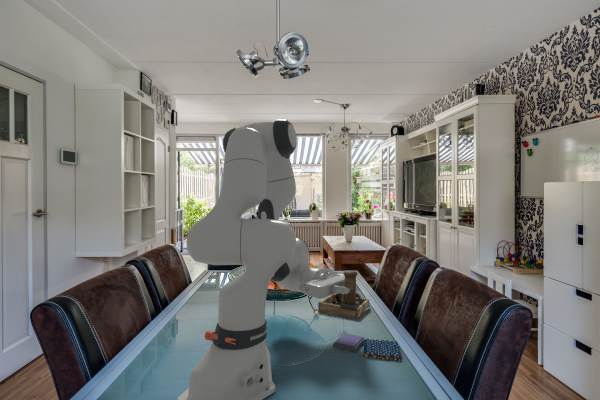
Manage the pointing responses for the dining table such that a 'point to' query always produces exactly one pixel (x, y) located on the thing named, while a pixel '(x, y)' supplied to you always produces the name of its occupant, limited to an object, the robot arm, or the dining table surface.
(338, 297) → the pottery mug
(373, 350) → the woven mat
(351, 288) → the stamp
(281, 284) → the robot arm
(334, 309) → the wooden tray
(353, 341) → the pad
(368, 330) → the dining table surface
